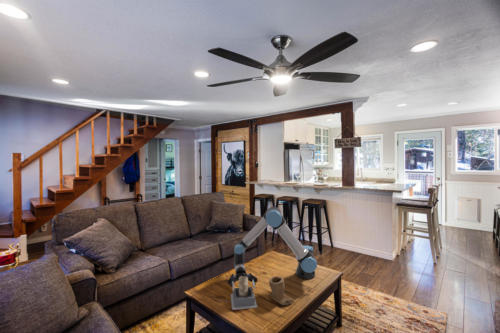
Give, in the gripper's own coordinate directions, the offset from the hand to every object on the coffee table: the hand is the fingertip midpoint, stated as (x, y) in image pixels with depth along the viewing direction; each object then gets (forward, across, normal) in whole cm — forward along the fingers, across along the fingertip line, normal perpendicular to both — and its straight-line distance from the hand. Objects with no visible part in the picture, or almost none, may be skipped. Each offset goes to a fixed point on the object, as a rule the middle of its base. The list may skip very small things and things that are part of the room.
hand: (244, 287), depth 155 cm
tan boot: (0, -24, -11) cm, 27 cm away
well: (-3, 0, -11) cm, 12 cm away
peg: (-3, 0, -10) cm, 11 cm away
